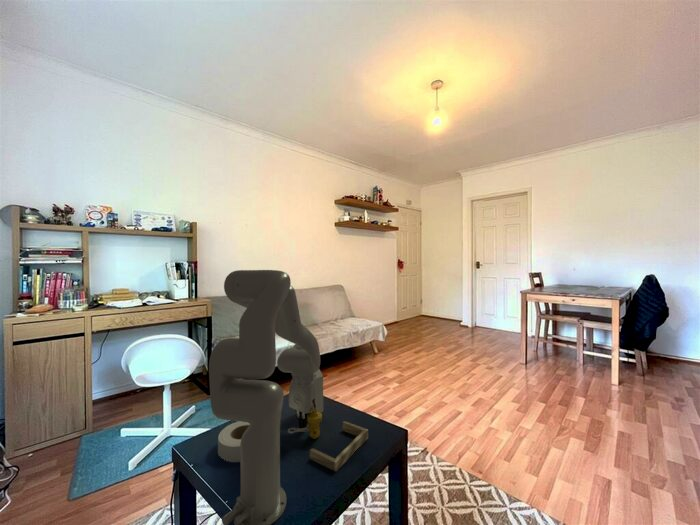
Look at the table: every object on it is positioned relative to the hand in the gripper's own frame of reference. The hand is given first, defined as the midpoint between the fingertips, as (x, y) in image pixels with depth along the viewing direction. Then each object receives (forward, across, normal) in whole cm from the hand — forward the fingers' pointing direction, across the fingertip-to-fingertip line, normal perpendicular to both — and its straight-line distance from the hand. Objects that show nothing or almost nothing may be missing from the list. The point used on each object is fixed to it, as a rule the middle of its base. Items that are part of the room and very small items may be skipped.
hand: (303, 427), depth 104 cm
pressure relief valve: (+2, +3, -3) cm, 5 cm away
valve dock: (+2, +16, 0) cm, 16 cm away
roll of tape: (+2, -11, -17) cm, 21 cm away
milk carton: (+2, -6, +12) cm, 14 cm away
